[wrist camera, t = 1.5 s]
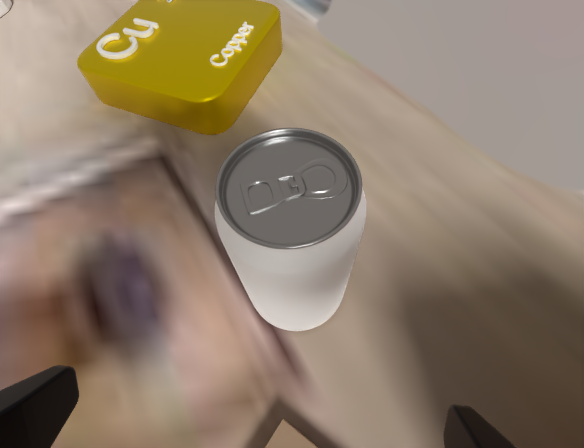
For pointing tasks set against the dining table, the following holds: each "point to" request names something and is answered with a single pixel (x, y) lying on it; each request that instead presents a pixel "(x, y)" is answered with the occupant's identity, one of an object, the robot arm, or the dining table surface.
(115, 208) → the dining table surface
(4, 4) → the white cup
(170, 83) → the element tile
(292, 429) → the tan flat board
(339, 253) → the can
